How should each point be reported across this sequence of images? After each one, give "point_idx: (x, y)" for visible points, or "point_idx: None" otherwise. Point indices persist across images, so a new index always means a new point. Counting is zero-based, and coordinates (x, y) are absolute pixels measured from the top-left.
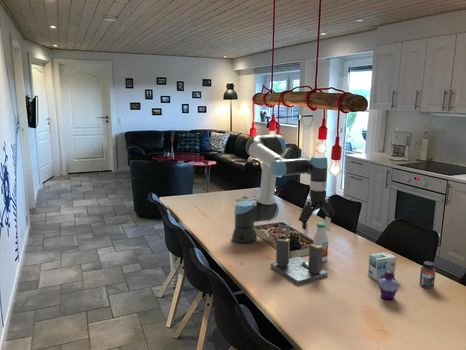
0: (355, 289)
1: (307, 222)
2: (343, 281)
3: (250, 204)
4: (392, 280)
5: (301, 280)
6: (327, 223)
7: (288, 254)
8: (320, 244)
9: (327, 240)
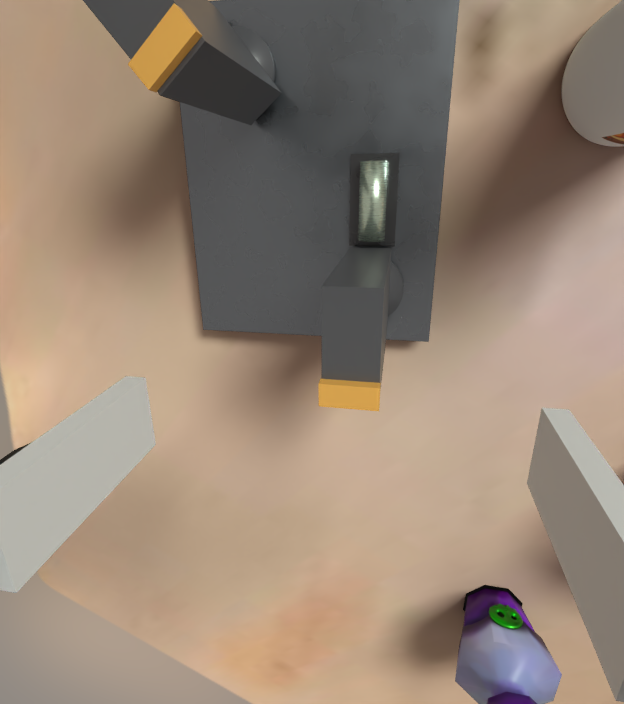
0: (433, 500)
1: (4, 577)
2: (454, 422)
3: None
4: (534, 693)
5: (226, 330)
6: (574, 539)
7: (232, 104)
8: None
9: None
